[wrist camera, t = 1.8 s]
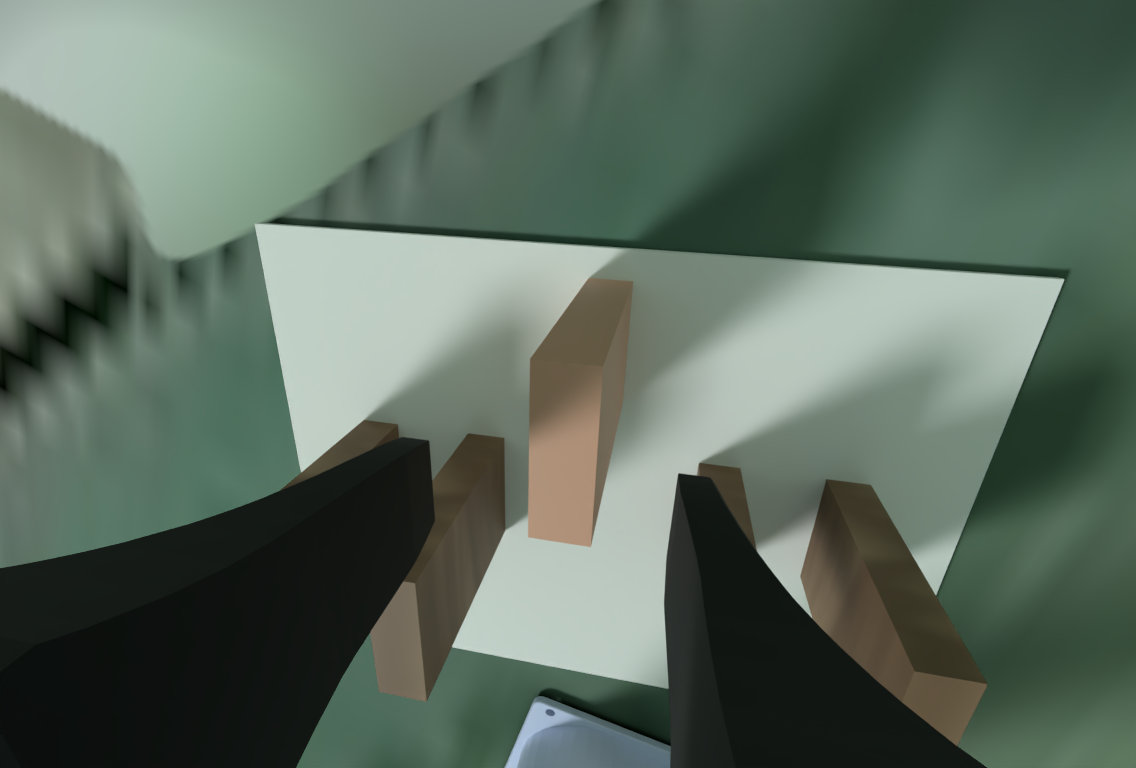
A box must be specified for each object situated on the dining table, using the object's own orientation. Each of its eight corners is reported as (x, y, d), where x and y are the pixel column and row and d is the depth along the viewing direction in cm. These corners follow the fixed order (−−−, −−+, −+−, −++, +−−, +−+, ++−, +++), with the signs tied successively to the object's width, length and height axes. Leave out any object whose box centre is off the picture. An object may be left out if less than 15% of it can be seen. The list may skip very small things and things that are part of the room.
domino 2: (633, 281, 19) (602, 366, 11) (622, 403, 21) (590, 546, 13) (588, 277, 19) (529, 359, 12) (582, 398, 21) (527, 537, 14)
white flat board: (1058, 277, 17) (1064, 279, 17) (879, 723, 25) (881, 729, 25) (260, 222, 21) (254, 223, 21) (332, 619, 30) (329, 623, 29)
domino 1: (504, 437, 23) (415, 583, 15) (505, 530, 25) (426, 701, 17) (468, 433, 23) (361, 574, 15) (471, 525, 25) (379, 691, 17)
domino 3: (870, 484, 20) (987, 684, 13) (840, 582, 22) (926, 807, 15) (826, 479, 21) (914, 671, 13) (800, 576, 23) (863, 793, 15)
